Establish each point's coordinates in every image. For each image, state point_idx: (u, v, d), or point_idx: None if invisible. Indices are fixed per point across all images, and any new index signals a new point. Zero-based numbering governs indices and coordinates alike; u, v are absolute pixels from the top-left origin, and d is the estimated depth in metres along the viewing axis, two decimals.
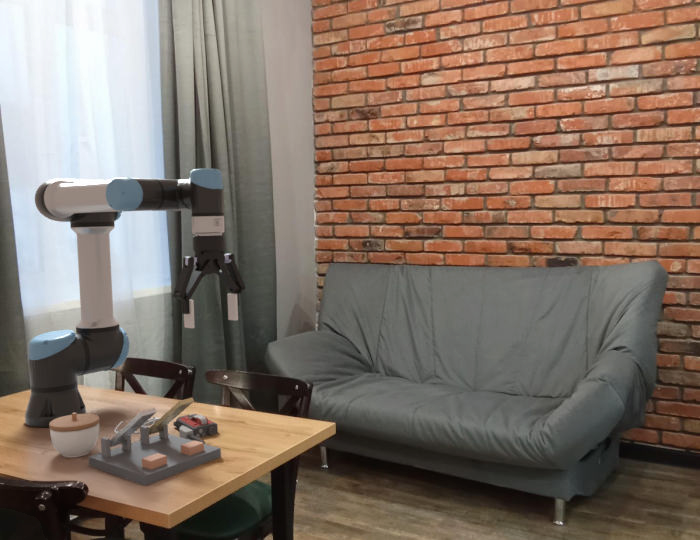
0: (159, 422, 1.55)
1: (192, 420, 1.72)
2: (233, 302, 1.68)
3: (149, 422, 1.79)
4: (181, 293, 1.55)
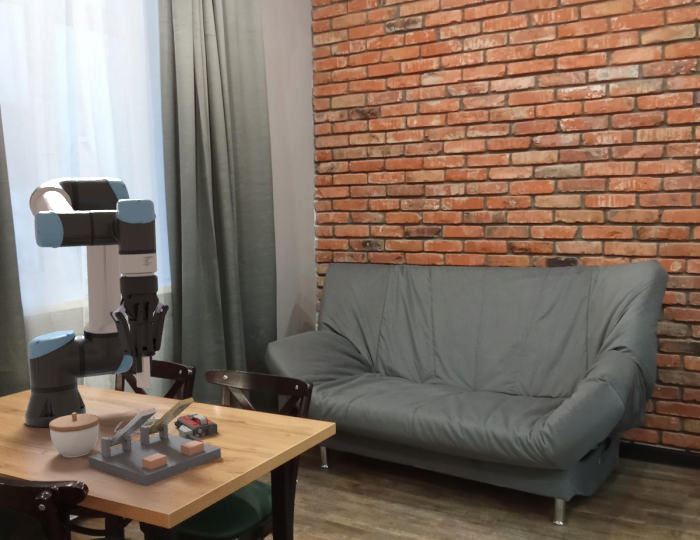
0: (159, 422, 1.55)
1: (192, 420, 1.72)
2: None
3: (149, 422, 1.79)
4: (131, 352, 1.39)
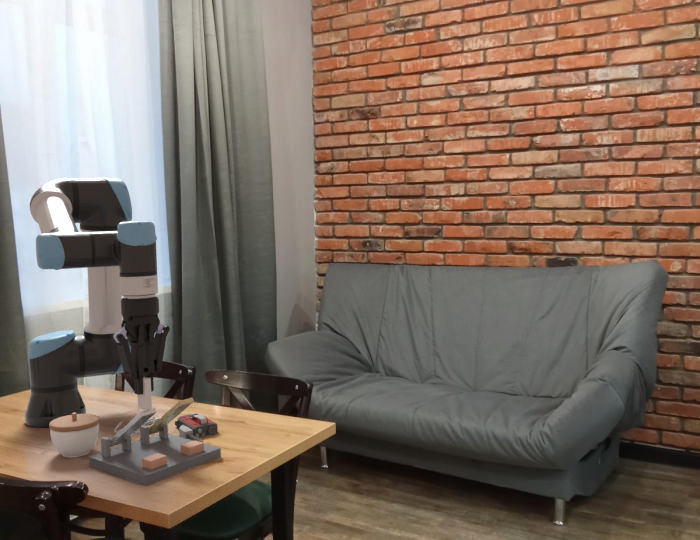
0: (159, 422, 1.55)
1: (192, 420, 1.73)
2: None
3: (149, 422, 1.79)
4: (132, 374, 1.40)
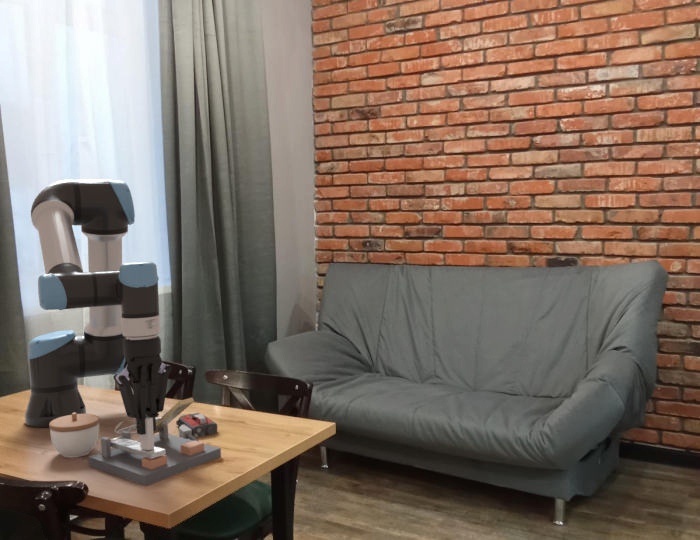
0: (159, 422, 1.55)
1: (193, 419, 1.73)
2: None
3: None
4: (134, 415, 1.40)
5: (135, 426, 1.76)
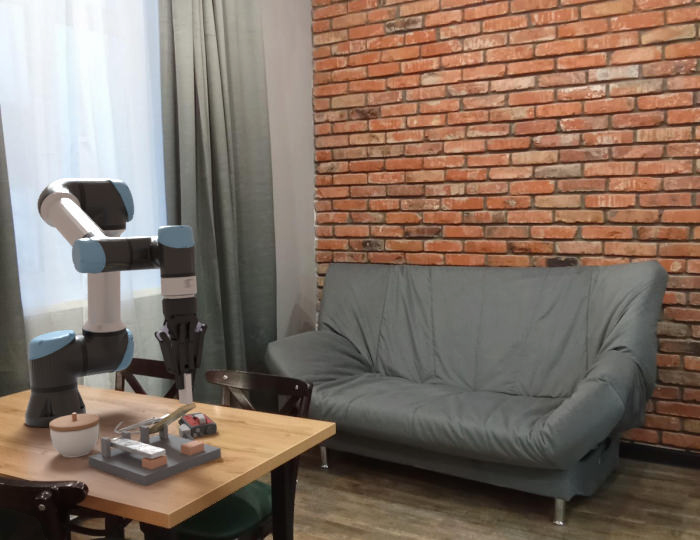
0: (160, 424, 1.55)
1: (194, 419, 1.73)
2: None
3: (149, 422, 1.79)
4: (174, 370, 1.47)
5: (135, 426, 1.76)
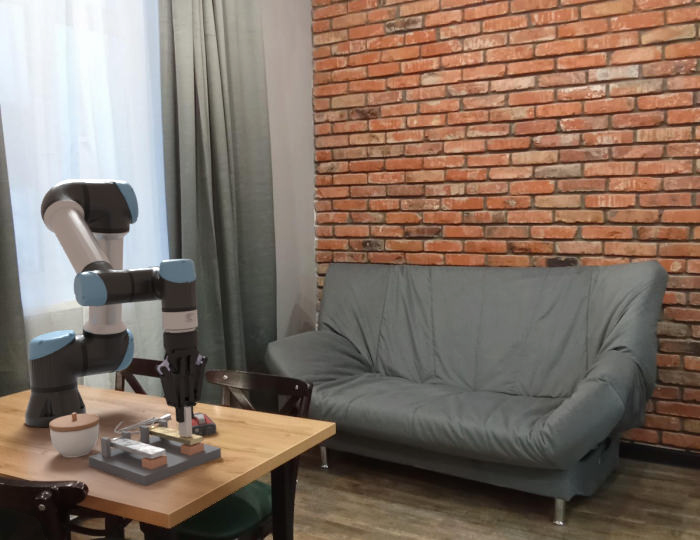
0: (162, 436, 1.54)
1: (194, 419, 1.73)
2: None
3: (149, 422, 1.79)
4: (174, 403, 1.48)
5: (135, 426, 1.76)
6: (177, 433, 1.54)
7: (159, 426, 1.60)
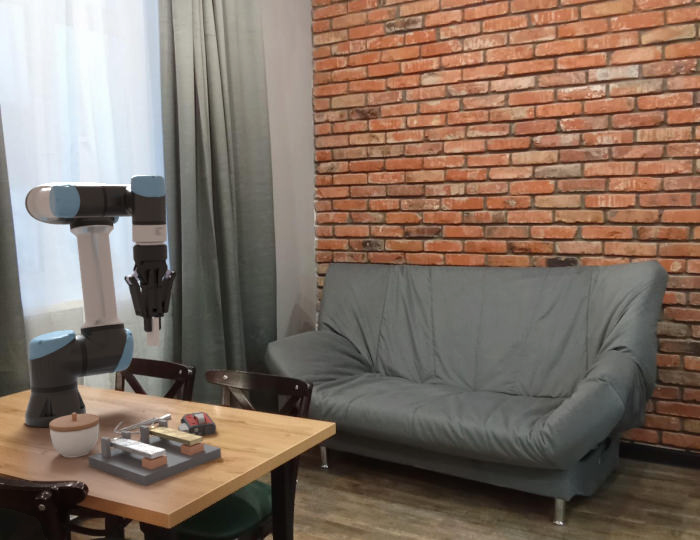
0: (162, 436, 1.54)
1: (194, 418, 1.74)
2: None
3: (149, 422, 1.79)
4: (142, 313, 1.55)
5: (135, 426, 1.76)
6: (177, 433, 1.54)
7: (159, 426, 1.60)
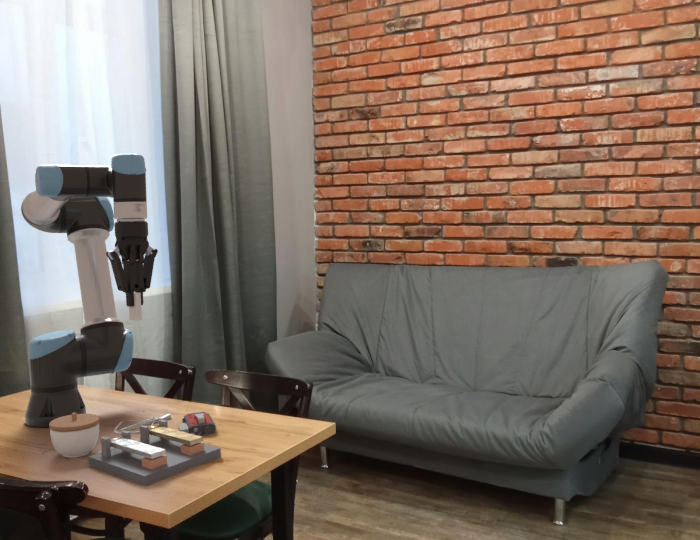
0: (162, 436, 1.54)
1: (195, 418, 1.74)
2: None
3: (149, 422, 1.79)
4: (124, 287, 1.60)
5: (135, 426, 1.76)
6: (177, 433, 1.54)
7: (159, 426, 1.60)
